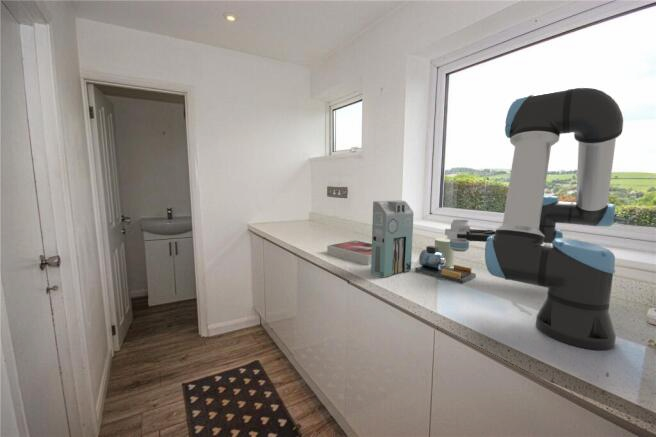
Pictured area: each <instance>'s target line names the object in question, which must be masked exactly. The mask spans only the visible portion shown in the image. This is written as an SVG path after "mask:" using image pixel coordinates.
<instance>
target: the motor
mask: <svg viewBox="0 0 656 437" xmlns="http://www.w3.org/2000/svg"><path fill="white" fill-rule="evenodd" d="M425 247H426V248H425V249H423V250H422V251H421V252H420V254H419V257H418V258H419V259H418V261H419V264H420V266H418V267H415V269H414V270H415V273H420V274H424V275H426V276H427V275H428V276H432V277H435V278H439V279H442V280H443V279H444V280H447V281H451V282H455V283H457V284H461V285H464V284H465V283H468V282H469V281H471V280H473V279H475V278H476V276H477V274H476V273H475V272H472V271H473V267H468V266H465V265H464V266H463V265H459V264H454V266H453V267H450V266H444V265H445V264H446V259H445V256H444V254H443V253H438V252H439V247H435V245H428V246H425Z"/></svg>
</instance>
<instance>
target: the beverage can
mask: <svg viewBox="0 0 656 437" xmlns="http://www.w3.org/2000/svg"><path fill="white" fill-rule="evenodd" d="M450 229H451V232H466V234H467V231H469V233H470V229H471V224H470V222H469V220H467V219H453V220H452V222H451V223H450ZM450 248H451V249H452V250H454V251H455V252H460V253H461V252H463V253H465V252H466V251H467V250H469V248H470V241H469V240H462V239H450Z"/></svg>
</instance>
